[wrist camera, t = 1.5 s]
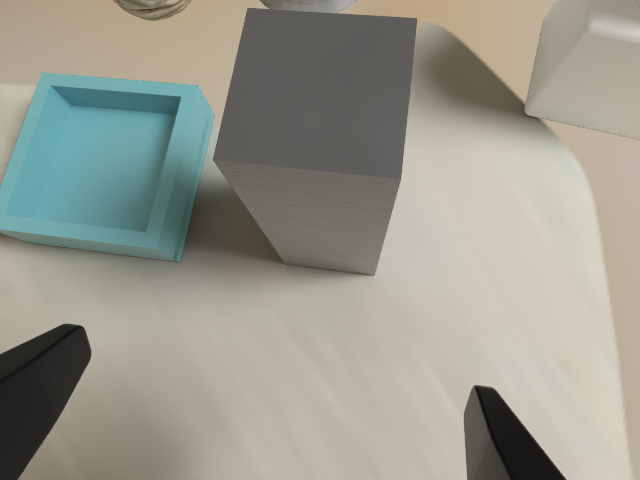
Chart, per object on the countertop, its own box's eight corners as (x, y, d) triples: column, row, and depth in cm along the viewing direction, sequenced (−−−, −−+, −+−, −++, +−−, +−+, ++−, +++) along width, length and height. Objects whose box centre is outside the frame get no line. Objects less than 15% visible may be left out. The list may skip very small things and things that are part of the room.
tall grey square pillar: (374, 275, 23) (401, 178, 11) (285, 264, 24) (212, 159, 11) (383, 191, 25) (417, 18, 12) (299, 182, 25) (247, 8, 13)
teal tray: (180, 262, 24) (157, 249, 21) (27, 242, 25) (-15, 227, 22) (214, 114, 27) (198, 85, 24) (74, 102, 28) (41, 72, 25)
